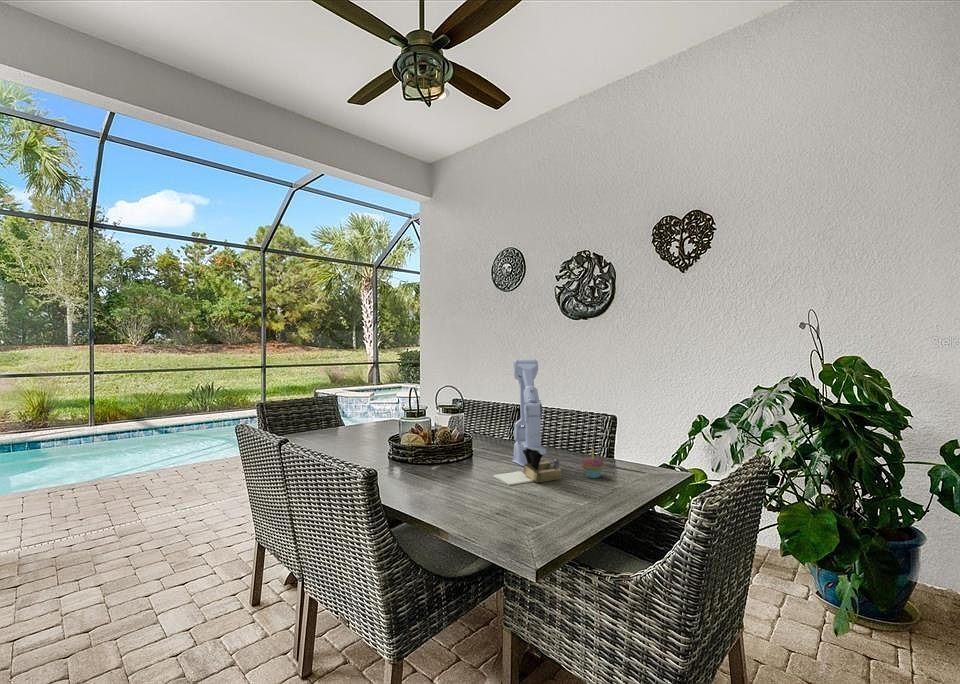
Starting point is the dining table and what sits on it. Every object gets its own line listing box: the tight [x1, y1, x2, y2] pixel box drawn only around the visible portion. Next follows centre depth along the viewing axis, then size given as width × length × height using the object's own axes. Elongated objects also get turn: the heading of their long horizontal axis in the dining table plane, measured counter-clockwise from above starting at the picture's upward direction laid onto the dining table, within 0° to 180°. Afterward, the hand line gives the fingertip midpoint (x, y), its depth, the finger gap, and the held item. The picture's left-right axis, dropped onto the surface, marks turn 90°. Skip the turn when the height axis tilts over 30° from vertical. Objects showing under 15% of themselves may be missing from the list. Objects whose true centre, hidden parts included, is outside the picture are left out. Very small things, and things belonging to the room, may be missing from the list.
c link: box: [523, 461, 563, 484], centre depth 173 cm, size 9×11×4 cm
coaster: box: [492, 470, 535, 486], centre depth 173 cm, size 12×12×1 cm
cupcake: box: [580, 447, 605, 479], centre depth 176 cm, size 9×8×12 cm
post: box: [553, 458, 560, 469], centre depth 176 cm, size 2×2×7 cm
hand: (533, 469), depth 175 cm, fingers closed on c link, 2 cm apart
